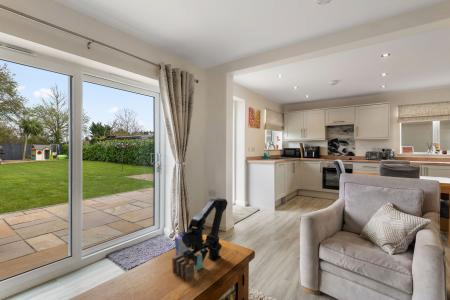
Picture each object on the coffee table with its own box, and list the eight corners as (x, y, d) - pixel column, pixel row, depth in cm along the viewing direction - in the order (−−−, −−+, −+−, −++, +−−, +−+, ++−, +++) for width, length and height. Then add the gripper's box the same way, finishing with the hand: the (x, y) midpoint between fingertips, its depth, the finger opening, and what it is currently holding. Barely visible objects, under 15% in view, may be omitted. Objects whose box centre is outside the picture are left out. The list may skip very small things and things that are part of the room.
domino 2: (176, 274, 125) (176, 260, 125) (183, 270, 128) (183, 257, 128) (178, 275, 124) (177, 261, 124) (185, 271, 127) (184, 258, 127)
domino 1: (172, 271, 128) (172, 258, 128) (179, 268, 131) (178, 255, 131) (174, 272, 127) (173, 259, 127) (180, 269, 130) (180, 256, 130)
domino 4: (185, 280, 119) (185, 266, 119) (192, 276, 122) (192, 262, 122) (187, 281, 118) (187, 267, 118) (194, 277, 121) (194, 263, 121)
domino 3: (181, 277, 122) (180, 263, 122) (188, 273, 125) (187, 260, 125) (182, 278, 121) (182, 264, 121) (189, 274, 124) (189, 261, 124)
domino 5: (194, 269, 129) (194, 256, 129) (201, 266, 133) (200, 253, 133) (196, 270, 128) (196, 257, 128) (202, 267, 132) (202, 254, 132)
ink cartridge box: (187, 249, 155) (186, 229, 155) (191, 252, 151) (190, 231, 151) (175, 254, 149) (174, 233, 149) (178, 257, 145) (178, 235, 144)
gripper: (201, 230, 143) (201, 254, 143) (177, 240, 129) (178, 265, 129) (212, 235, 135) (213, 259, 135) (188, 245, 121) (189, 272, 122)
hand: (198, 264), depth 130 cm, fingers closed on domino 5, 5 cm apart
